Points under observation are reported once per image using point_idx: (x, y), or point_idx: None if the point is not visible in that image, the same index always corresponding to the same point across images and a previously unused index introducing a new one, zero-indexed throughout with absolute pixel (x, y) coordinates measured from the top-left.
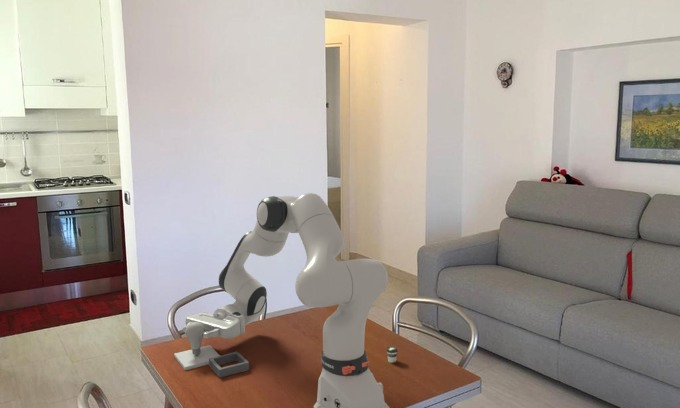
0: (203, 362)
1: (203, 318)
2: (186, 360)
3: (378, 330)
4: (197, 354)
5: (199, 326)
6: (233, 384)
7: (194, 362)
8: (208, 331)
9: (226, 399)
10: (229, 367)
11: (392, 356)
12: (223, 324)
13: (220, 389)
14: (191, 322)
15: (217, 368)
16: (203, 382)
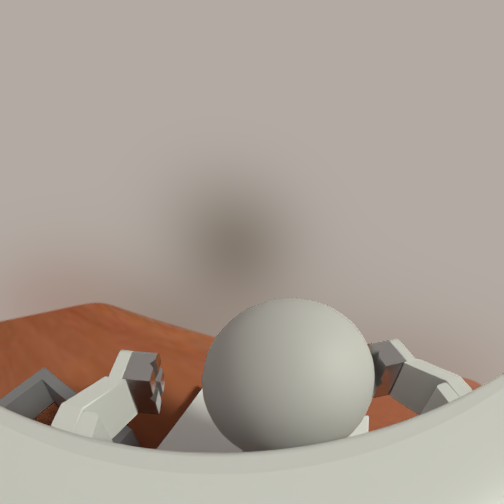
0: (166, 437)
1: (478, 473)
2: None
3: None
4: None
5: (230, 335)
6: (10, 369)
7: (206, 421)
8: (134, 379)
9: (16, 324)
10: (17, 387)
11: None
12: (23, 489)
13: (35, 346)
14: (458, 391)
15: (54, 376)
16: (91, 360)
